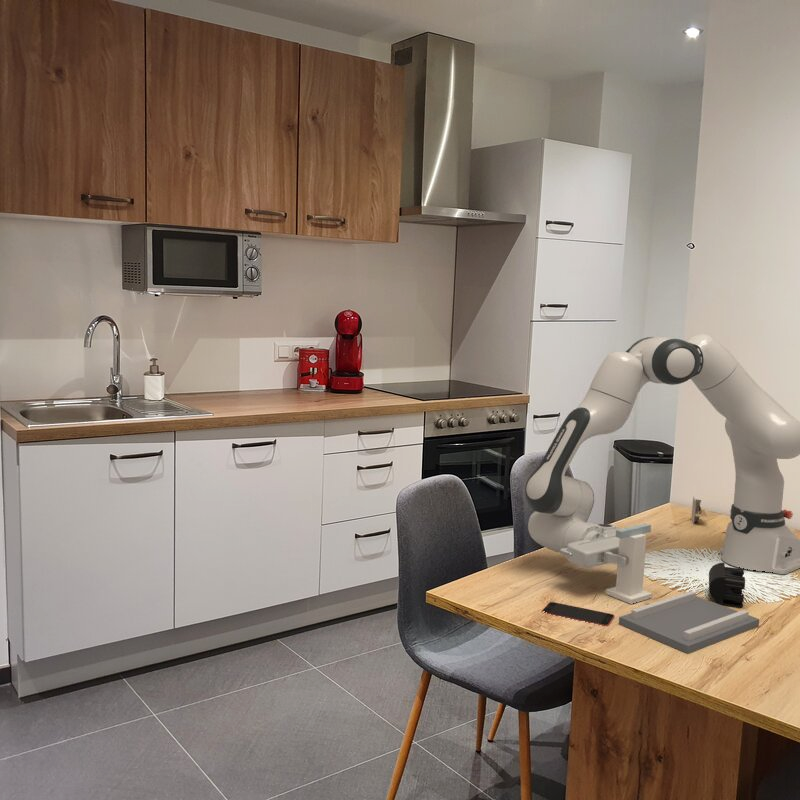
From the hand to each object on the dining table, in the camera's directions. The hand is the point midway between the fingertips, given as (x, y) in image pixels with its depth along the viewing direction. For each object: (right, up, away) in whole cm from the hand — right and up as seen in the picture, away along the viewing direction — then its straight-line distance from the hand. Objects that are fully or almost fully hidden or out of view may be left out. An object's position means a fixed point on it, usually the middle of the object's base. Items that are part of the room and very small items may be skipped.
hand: (634, 559), depth 181 cm
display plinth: (+7, -11, -13) cm, 18 cm away
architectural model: (+36, -2, +63) cm, 73 cm away
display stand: (-1, -8, +2) cm, 9 cm away
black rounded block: (+20, -9, +3) cm, 23 cm away
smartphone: (-14, -10, -9) cm, 20 cm away
